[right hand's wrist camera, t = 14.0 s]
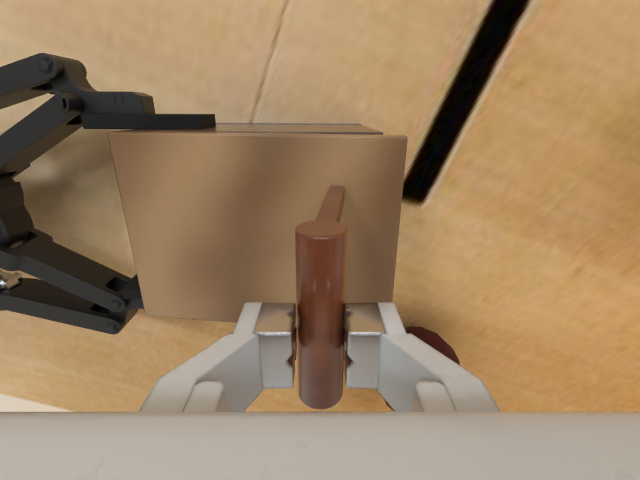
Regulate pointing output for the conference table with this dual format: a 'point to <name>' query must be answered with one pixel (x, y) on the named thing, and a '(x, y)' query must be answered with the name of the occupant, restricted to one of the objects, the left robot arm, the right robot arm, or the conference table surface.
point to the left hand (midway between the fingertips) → (218, 209)
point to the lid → (264, 230)
